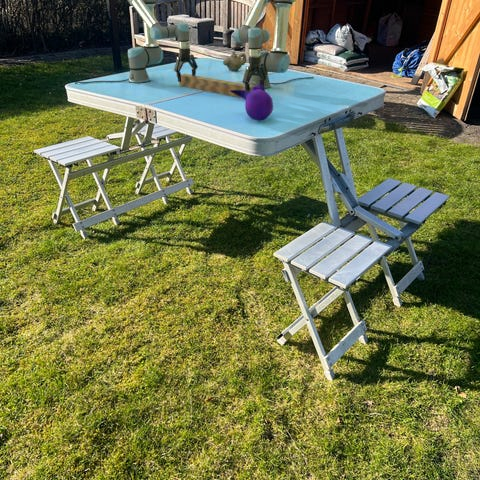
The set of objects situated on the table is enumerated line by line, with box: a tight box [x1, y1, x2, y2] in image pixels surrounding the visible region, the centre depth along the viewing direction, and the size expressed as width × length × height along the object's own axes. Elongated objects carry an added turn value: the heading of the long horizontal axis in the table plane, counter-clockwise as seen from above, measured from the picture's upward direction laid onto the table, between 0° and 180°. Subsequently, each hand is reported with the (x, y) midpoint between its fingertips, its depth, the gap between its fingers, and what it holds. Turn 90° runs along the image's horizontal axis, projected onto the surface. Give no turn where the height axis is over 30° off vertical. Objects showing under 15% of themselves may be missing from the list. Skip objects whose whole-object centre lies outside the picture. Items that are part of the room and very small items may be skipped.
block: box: [178, 73, 254, 99], centre depth 300 cm, size 74×6×8 cm, turn 47°
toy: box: [231, 85, 274, 121], centre depth 242 cm, size 16×18×27 cm
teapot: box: [222, 51, 247, 72], centre depth 365 cm, size 21×12×15 cm, turn 120°
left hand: (186, 80), depth 318 cm, fingers open, 13 cm apart
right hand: (254, 92), depth 281 cm, fingers open, 13 cm apart
